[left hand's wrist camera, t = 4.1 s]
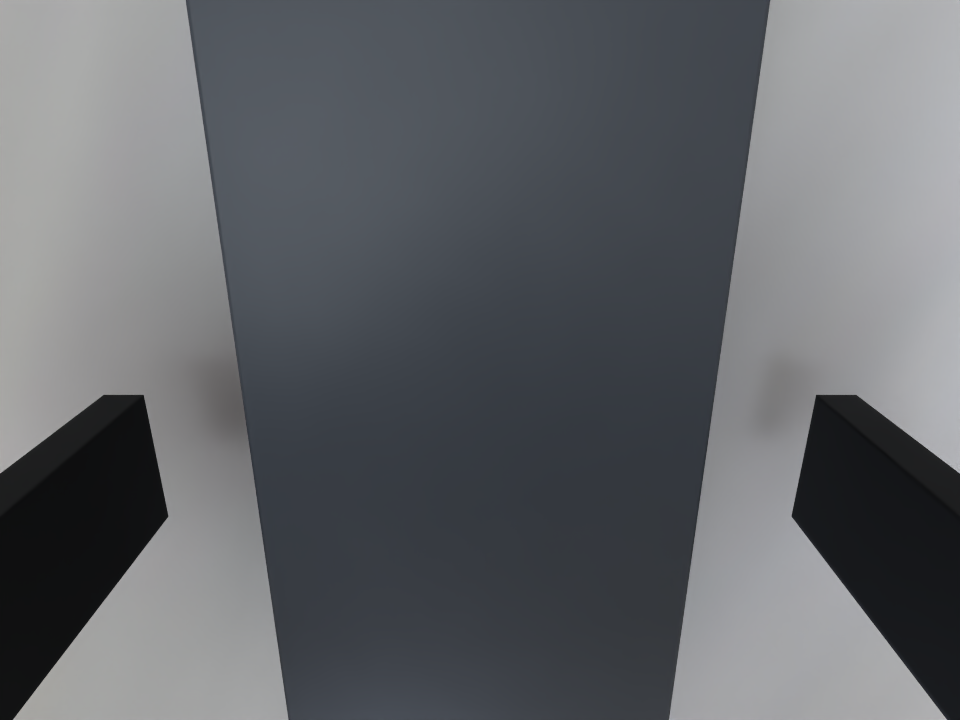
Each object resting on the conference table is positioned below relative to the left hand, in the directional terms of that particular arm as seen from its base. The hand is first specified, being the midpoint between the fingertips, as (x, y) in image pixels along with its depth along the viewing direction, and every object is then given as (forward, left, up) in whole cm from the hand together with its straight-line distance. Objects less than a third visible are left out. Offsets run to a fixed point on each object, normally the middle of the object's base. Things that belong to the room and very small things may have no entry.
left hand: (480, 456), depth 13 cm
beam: (+26, -11, -3) cm, 28 cm away
